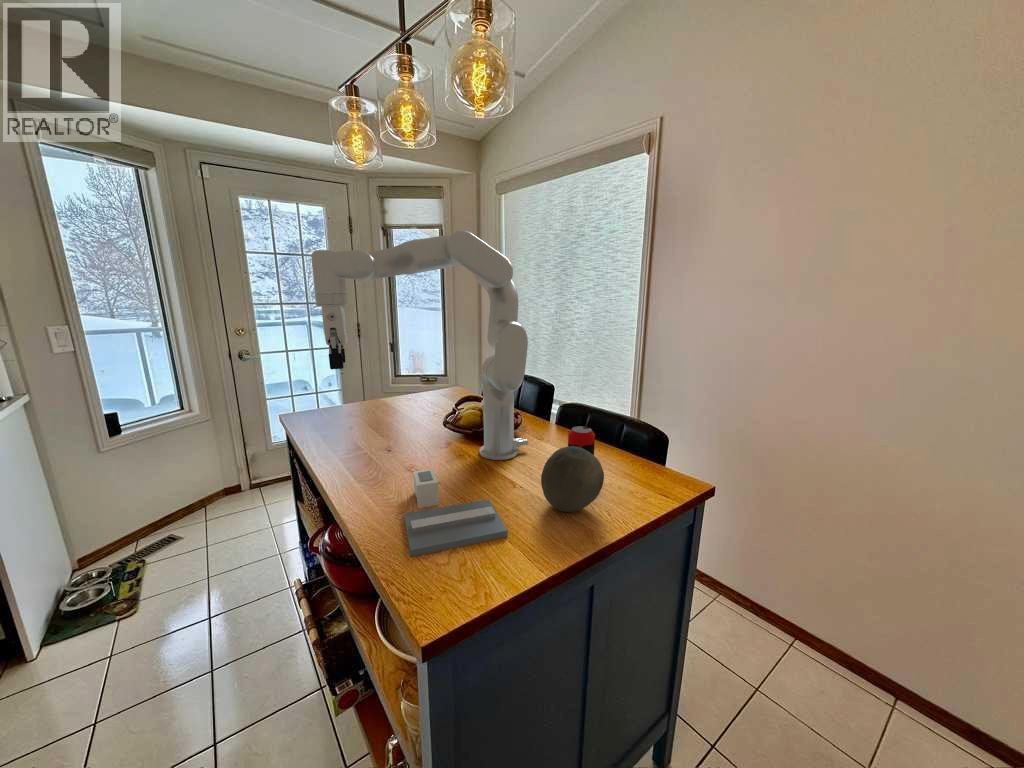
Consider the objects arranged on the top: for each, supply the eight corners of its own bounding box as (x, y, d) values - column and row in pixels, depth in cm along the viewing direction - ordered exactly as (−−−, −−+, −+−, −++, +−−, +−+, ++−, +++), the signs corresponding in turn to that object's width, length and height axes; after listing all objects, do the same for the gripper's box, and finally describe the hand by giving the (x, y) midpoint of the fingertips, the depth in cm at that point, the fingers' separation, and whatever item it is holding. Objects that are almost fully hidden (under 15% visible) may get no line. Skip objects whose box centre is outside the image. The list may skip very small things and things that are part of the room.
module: (434, 489, 105) (433, 467, 103) (439, 504, 97) (438, 481, 96) (414, 493, 103) (413, 470, 102) (418, 508, 96) (416, 484, 94)
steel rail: (491, 511, 92) (491, 506, 92) (495, 517, 89) (495, 512, 89) (411, 525, 86) (410, 520, 86) (412, 533, 83) (412, 528, 83)
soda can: (598, 468, 118) (600, 429, 115) (584, 476, 112) (585, 436, 110) (576, 460, 123) (578, 423, 120) (562, 468, 117) (563, 429, 115)
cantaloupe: (560, 530, 87) (561, 466, 84) (531, 500, 100) (531, 443, 96) (613, 516, 92) (617, 455, 89) (579, 489, 105) (581, 435, 102)
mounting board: (489, 504, 98) (489, 498, 97) (507, 536, 85) (507, 530, 84) (404, 519, 91) (404, 513, 91) (410, 557, 78) (410, 550, 78)
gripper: (345, 301, 97) (352, 370, 101) (348, 299, 113) (354, 360, 117) (311, 301, 95) (319, 372, 98) (319, 300, 110) (326, 361, 114)
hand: (338, 365), depth 107 cm, fingers open, 9 cm apart
